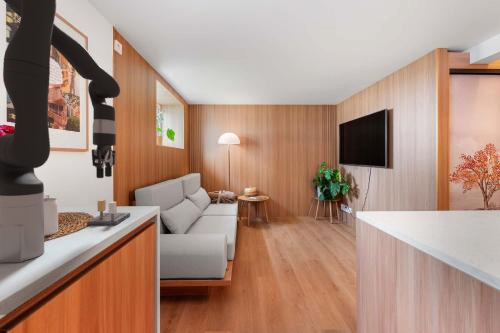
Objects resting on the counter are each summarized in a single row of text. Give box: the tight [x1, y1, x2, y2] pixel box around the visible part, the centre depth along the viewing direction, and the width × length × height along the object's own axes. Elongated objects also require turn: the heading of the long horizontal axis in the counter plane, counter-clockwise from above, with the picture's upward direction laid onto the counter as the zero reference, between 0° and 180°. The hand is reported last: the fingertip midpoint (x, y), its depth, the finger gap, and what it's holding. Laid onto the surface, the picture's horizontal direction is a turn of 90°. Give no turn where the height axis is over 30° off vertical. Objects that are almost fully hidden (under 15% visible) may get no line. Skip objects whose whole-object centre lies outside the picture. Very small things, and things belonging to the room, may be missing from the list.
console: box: [86, 212, 131, 226], centre depth 106 cm, size 15×11×2 cm
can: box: [44, 197, 59, 237], centre depth 87 cm, size 6×6×12 cm
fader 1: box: [97, 199, 107, 217], centre depth 105 cm, size 3×2×7 cm
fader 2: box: [108, 201, 118, 219], centre depth 101 cm, size 3×2×7 cm
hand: (104, 177), depth 94 cm, fingers open, 6 cm apart
